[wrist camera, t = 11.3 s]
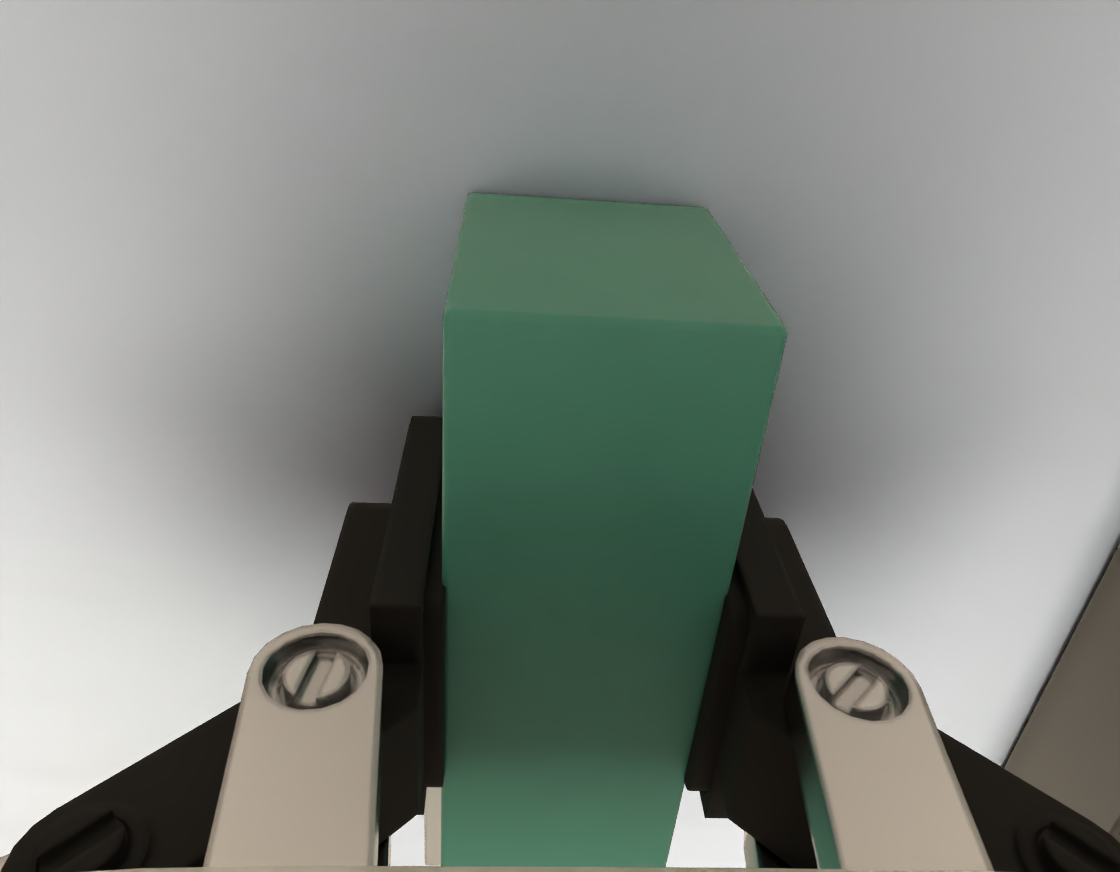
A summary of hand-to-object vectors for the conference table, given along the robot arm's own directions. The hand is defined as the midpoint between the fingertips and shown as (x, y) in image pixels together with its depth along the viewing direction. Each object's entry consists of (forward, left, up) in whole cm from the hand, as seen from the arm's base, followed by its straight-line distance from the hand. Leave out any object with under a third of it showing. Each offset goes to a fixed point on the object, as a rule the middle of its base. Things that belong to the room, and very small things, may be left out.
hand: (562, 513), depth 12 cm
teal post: (+2, 0, 0) cm, 2 cm away
